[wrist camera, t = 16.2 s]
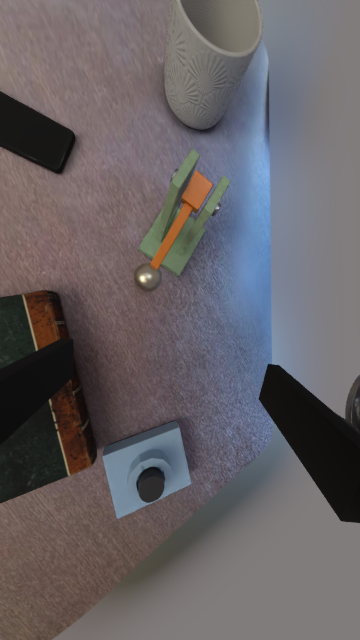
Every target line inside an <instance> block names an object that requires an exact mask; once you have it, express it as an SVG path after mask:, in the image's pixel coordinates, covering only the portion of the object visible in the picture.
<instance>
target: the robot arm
mask: <svg viewBox="0 0 360 640" xmlns="http://www.w3.org/2000/svg"><path fill="white" fill-rule="evenodd" d="M72 378H73V340H71V339H63V338H61V339H59V340H57V341H55V342H53V343H51V344H49V345H47V346H45V347H43V348H41V349H39V350H37V351H35V352H33V353H31V354H29V355H27V356H25V357H23V358H21V359H19V360H17V361H15V362H13V363H11V364H9V365H7V366H5V367H3V368H1V369H0V445H1V444H2V443H4V442H5V441H6V440H7V439H8V438H9V437H10V436H11V435H12V434H13V433H14V432H15V431H16V430H17V429H18V428H20V427H21V426H22V425H23V424H24V423H25V422H26V421H27V420H28V419H29V418H30V417H31V416H32V415H33V414H35V413H36V412H37V411H38V410H39V409H40V408H41V407H42V406H43V405H44V404H45V403H46V402H47V401H48V400H49V399H51V398H52V397H53V396H54V395H55V394H56V393H57V392H58V391H59V390H60V389H61V388H62V387H63V386H64V385H66V384H67V383H68V382H69V381H70V380H71V379H72ZM259 400H260V402H261V403H262V405H263V406H264V408H265V409H266V411H267V412H268V414H269V415H270V417H271V418H272V420H273V421H274V422H275V424H276V425H277V427H278V428H279V430H280V431H281V433H282V434H283V436H284V437H285V439H286V440H287V442H288V443H289V445H290V446H291V448H292V449H293V450H294V452H295V454H296V455H297V456H298V458H299V460H300V461H301V462H302V464H303V465H304V467H305V468H306V470H307V471H308V473H309V474H310V476H311V477H312V479H313V480H314V482H315V483H316V485H317V486H318V488H319V489H320V491H321V492H322V494H323V495H324V497H325V498H326V499H327V501H328V503H329V504H330V506H331V507H332V508H333V510H334V511H335V513H336V514H337V516H338V517H339V519H340V520H341V521H345V522H355V523H360V432H359V431H358V430H356V428H355V427H353V426H352V425H351V424H350V423H349V422H347V421H346V420H345V419H344V418H342V417H340V416H339V415H337V414H336V413H334V412H333V411H332V410H331V409H329V408H328V407H327V406H326V405H325V404H324V403H322V402H321V401H320V400H319V399H318V398H317V397H315V396H314V395H313V394H312V393H311V392H310V391H308V390H307V389H306V388H305V387H303V385H301V384H300V383H299V382H298V381H297V380H296V379H294V378H293V377H292V376H291V375H289V374H288V373H287V372H286V371H285V370H284V369H283V368H281V367H280V366H279V365H272V364H268V366H267V370H266V374H265V377H264V381H263V385H262V389H261V392H260V396H259Z"/></svg>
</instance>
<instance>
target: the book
mask: <svg viewBox="0 0 360 640" xmlns="http://www.w3.org/2000/svg"><path fill="white" fill-rule="evenodd" d="M61 338H63V339H69V337H68V333H67V329H66V325H65V321H64V317H63V313H62V309H61V305H60V301H59V297H58V294H57V293H56V292H54V291H49V290H42V291H37V292H32V293H28V294H21V295H14V296H7V297H1V298H0V369H1V368H3V367H5V366H7V365H9V364H11V363H13V362H15V361H17V360H19V359H21V358H23V357H25V356H27V355H29V354H31V353H33V352H35V351H37V350H39V349H41V348H43V347H45V346H47V345H49V344H51V343H53V342H55V341H57V340H59V339H61ZM96 458H97V451H96V447H95V443H94V439H93V435H92V431H91V427H90V423H89V418H88V414H87V410H86V406H85V402H84V398H83V394H82V390H81V386H80V382H79V378H78V373H77V369H76V365H75V361H74V357H73V378H72V379H71V380H70V381H69V382H68V383H67V384H66V385H64V386H63V387H62V388H61V389H60V390H59V391H58V392H57V393H56V394H55V395H54V396H53V397H52V398H51V399H49V400H48V401H47V402H46V403H45V404H44V405H43V406H42V407H41V408H40V409H39V410H38V411H37V412H36V413H35V414H33V415H32V416H31V417H30V418H29V419H28V420H27V421H26V422H25V423H24V424H23V425H22V426H21V427H20V428H18V429H17V430H16V431H15V432H14V433H13V434H12V435H11V436H10V437H9V438H8V439H7V440H6V441H5V442H4V443H2V444H1V445H0V503H2V502H5V501H7V500H10V499H13V498H15V497H18V496H20V495H23V494H25V493H28V492H30V491H32V490H35V489H37V488H40V487H42V486H45V485H47V484H50V483H52V482H55V481H57V480H60V479H62V478H65V477H67V476H70V475H72V474H75V473H77V472H80V471H82V470H85V469H88V468H90V467H91V466H92V465H93V464H94V462H95V460H96Z"/></svg>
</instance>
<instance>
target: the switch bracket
mask: <svg viewBox="0 0 360 640" xmlns="http://www.w3.org/2000/svg"><path fill="white" fill-rule="evenodd" d="M199 157H200V155H199V154H198V153H197V152H196V151H194V150H193V149H192V150H191V151H190V153H189V155H188V156H187V158H186V159H185V161H184V162H183V164H182V165H181V167H180V169H179V170H178V169H176V170H175V171H174V173H173V175H172V177H171V181H170V182H171V184H170V188H169V191H168V195H167V198H166V202H165V206H164V208H163V210H162V211H161V213H160V214H159V216H158V217H157V219H156V221H155V222H154V224H153V225H152V227H151V228H150V230H149V232H148V233H147V235H146V236H145V238H144V240H143V241H142V243H141V244H140V246H139V247H138V251H140V252H141V253H143V254H144V255H146V256H147V257H149V258H150V259H152V260H153V259H154V257H155V255H156V253H157V251H158V250H159V248H160V246H161V244H162V243H163V241H164V239H165V237H166V235H167V234H168V232H169V230H170V228H171V227H172V225H173V223H174V221H175V219H176V218H177V216H178V214H179V212H180V211H181V209H180V208H179V206H180V204H181V198H182V195H183V193H184V191H185V190H186V188H187V186H188V184H189V182H190V179H191V177H192V174H193V172H194V169H195V167H196V165H197V162H198V160H199ZM229 184H230V181H229V180H228V179H227V178H226V177H224V176H223V177H222V178H221V180H220V182H219V183H218V185H217V186H216V188H215V190H214V191H213V193H212V195H211V196H210V198H209V199H208V201H207V203H206V204H205V206H204V207H203V209H202V211H201V212H200V214H199V215H198V217H197V219H196V220H194V219H193V218H192V217H190V216H189V217H188V219H187V221H186V222H185V224H184V226H183V227H182V229H181V231H180V233H179V234H178V236H177V238H176V239H175V241H174V243H173V244H172V246H171V248H170V250H169V251H168V253H167V255H166V256H165V258H164V260H163V262H162V263H161V266H163V267H164V268H166V269H167V270H169V271H170V272H172V273H173V274H175V275H176V276H179V275H180V274H181V272H182V270H183V269H184V267H185V265H186V264H187V262H188V260H189V258H190V257H191V255H192V253H193V251H194V250H195V248H196V246H197V245H198V243H199V241H200V239H201V238H202V236H203V234H204V232H205V231H206V228H205V227H204V226H203V225H204V224H205V223H206V221H207V220H208V219H209V217H210V216H211V215H212V216H215V214H216V213H217V211H218V210H219V208H220V207H221V204H220V203H219V201H220V199H221V198H222V196H223V194H224V192H225V191H226V189H227V187H228V185H229Z"/></svg>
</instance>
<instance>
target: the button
mask: <svg viewBox="0 0 360 640" xmlns="http://www.w3.org/2000/svg"><path fill="white" fill-rule="evenodd" d="M138 490H139V497H140V499H141V500H142V501H144V502H146V503H151V502H154V501H156V500H157V499H159V498H160V497H161V495H162V494H163V491H164V480H163V475H162V472H161V470H160V469H159V468H157V467H149V468H147V469H145V470H144V471H143V472H142V473H141V475H140V476H139V480H138Z"/></svg>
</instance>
